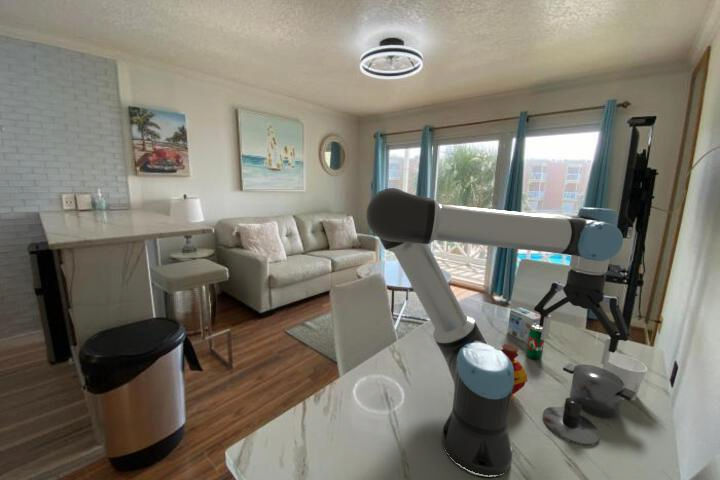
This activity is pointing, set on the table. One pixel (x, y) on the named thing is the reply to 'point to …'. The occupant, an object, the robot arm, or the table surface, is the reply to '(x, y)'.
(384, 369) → the table surface
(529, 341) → the soda can
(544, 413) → the lid
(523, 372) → the potion bottle
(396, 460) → the table surface
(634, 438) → the table surface
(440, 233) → the robot arm
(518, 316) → the light bulb box
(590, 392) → the pot
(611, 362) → the cup
